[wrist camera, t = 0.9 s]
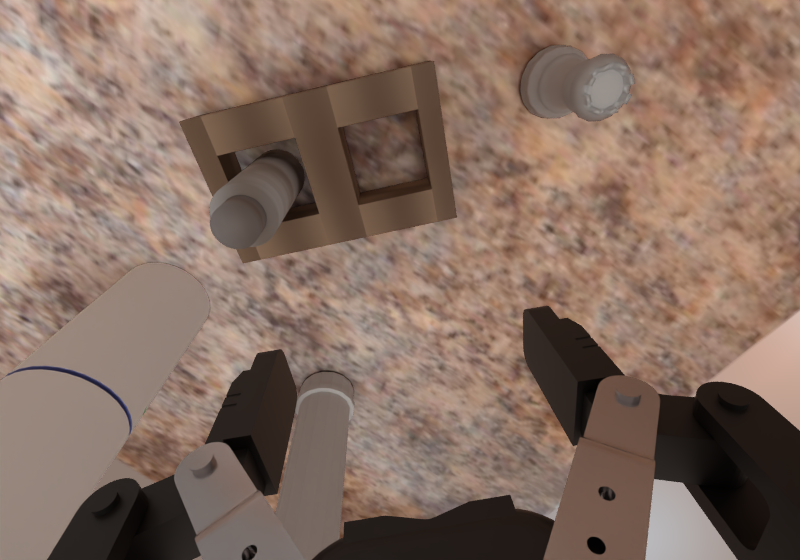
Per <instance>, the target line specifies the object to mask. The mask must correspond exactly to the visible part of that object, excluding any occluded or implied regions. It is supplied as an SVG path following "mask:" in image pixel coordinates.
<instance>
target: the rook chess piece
mask: <svg viewBox="0 0 800 560" xmlns="http://www.w3.org/2000/svg"><path fill="white" fill-rule="evenodd" d="M632 84H635V82H634V74H631V72H630V68H629V66H628V65H627V63H626V62H625V60H624V59H623V58H621V57H619V56H617V55H615V54H600V55H598V56H596V57H594V58H592V59H587V58H586V56H585V55H584V53H583V52H582V51H580V50H578V49H576V48H574V47H572V46H566V45H552V46H550V47H548V48H546V49H543V50H541V51H539V52H538V53H537V54H536V55H535V56H534V57H533V58H532V59H531V60H530V61H529V63H528V64H527V67H526V69H525V71H524V73H523V75H522V79H521V88H520V92H521V96H522V100H523V103H524V105H525V106H526V107H527V109H528V110H529V111H530V112H531V113H532V114H534V115H536V116H539V117H541V118H561V117H563V116H565V115H567V114H570V113H572V112H575V113H576V114H577V116H578V117H580V118H582V119H584V120H586V121H601V120H603V119H606V118H608V117H610V116H612V115H613V114H614V113H617V112H618V109H620V108H621V107H622V105H623V104H627V103H628V101H629V99H630V98H631V96H632V94H629V91H630V87H631V85H632Z"/></svg>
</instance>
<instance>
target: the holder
mask: <svg viewBox="0 0 800 560" xmlns="http://www.w3.org/2000/svg"><path fill="white" fill-rule="evenodd" d="M412 110H415V111H416V117H417V123H418V128H419V134H420V140H421V145H422V151H423V157H424V162H425V168H426V174H427V178H425V179H421V180H416V181H412V182H407V183H403V184H398V185H394V186H389V187H385V188H380V189H376V190H371V191H367V192H362V193H360V190H359V187H358V183H357V179H356V175H355V171H354V168H353V164H352V160H351V156H350V152H349V149H348V145H347V141H346V137H345V134H344V130H343V126H348V125H352V124H356V123H361V122H365V121H369V120H374V119H378V118H382V117H387V116H391V115H395V114H399V113H404V112H408V111H412ZM179 123H180V125H181V127H182V130H183V132H184V134H185V136H186V138H187V141H188V143H189V145H190V147H191V149H192V152H193V154H194V156H195V158H196V161H197V163H198V165H199V167H200V169H201V172H202V174H203V176H204V178H205V181H206V183H207V185H208V187H209V189H210V192H211V194H212V196H213V197H212V199H211V202H210V207H209V213H210V218H211V219H210V227H211V231H212V233H213V235H214V236H215V238H216V239H217V240H218V241H219V242H220V243H222V244H223V245H225V246H227V247H230V248H233V249H237V252H238V254H239V256H240V258H241V260H242V263H247V262H251V261H256V260H261V259H265V258H270V257H275V256H279V255H284V254H289V253H293V252H298V251H303V250H307V249H312V248H317V247H321V246H326V245H331V244H335V243H340V242H345V241H349V240H354V239H359V238H363V237H368V236H373V235H377V234H382V233H387V232H391V231H396V230H401V229H405V228H410V227H415V226H419V225H424V224H429V223H433V222H438V221H442V220H447V219H452V218H456V217H457V215H456V208H455V201H454V194H453V188H452V181H451V174H450V167H449V160H448V154H447V147H446V140H445V133H444V126H443V120H442V113H441V106H440V99H439V93H438V86H437V79H436V72H435V65H434V61H426V62H422V63H418V64H414V65H410V66H405V67H401V68H397V69H393V70H389V71H384V72H380V73H376V74H372V75H368V76H363V77H359V78H355V79H351V80H347V81H342V82H338V83H334V84H330V85H326V86H321V87H317V88H313V89H309V90H305V91H300V92H296V93H292V94H288V95H284V96H280V97H275V98H271V99H267V100H263V101H259V102H254V103H250V104H246V105H242V106H238V107H233V108H229V109H225V110H221V111H217V112H212V113H208V114H204V115H200V116H196V117H193V118H190V119H186V120H183V121H180V122H179ZM292 138H295V140H296V143H297V146H298V149H299V152H300V155H301V158H302V161H303V164H304V167H305V171H306V174H307V177H308V180H309V183H310V186H311V189H312V192H313V195H314V198H315V202H316V203H312V204H308V205H303V206H299V207H294V208H290V207H291V206H292V204H293V202H294V201H295V199H296V197H297V196H298V194H299V192H300V191H301V189H302V187H303V185H304V181H305V174H304V169H303V167H302V165H301V163H300V162H299V160H298V159H297V158H296V157H295V156H293V155H292V154H290V153H289V152H286V151H283V150H270V151H268V152H265V153H264V154H262V155H261V156H260V157H259V158H258V159H256V160H255V161H254V162H253V163H251V164H250V165H249V166H248V167H246V168H245V169H244V170H243V171H241V168H240V166H239V163H238V161H237V158H236V156H235V153H234V152H235V151H240V150H244V149H248V148H253V147H257V146H261V145H266V144H270V143H274V142H279V141H283V140H287V139H292Z"/></svg>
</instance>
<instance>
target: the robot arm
mask: <svg viewBox="0 0 800 560" xmlns="http://www.w3.org/2000/svg"><path fill="white" fill-rule="evenodd" d="M523 349H524V356H525V359H526V362H527V365H528V367H529V369H530V371H531V372H532V374H533V376H534V378H535V379H536V381H537V383H538V385H539V387H540V388H541V390H542V392H543V394H544V395H545V397H546V399H547V401H548V403H549V404H550V406H551V408H552V410H553V411H554V413H555V415H556V417H557V419H558V420H559V422H560V424H561V426H562V427H563V429H564V431H565V433H566V434H567V436H568V438H569V440H570V442H571V443H572V445H573V446H575V445H577V448H576V451H575V454H574V458H573V461H572V465H571V468H570V471H569V475H568V478H567V481H566V485H565V488H564V491H563V495H562V498H561V502H560V505H559V508H558V512H557V515H556V518H555V521H554V520H552V519H550V518H548V517H545V516H543V515H541V514H538V513H535V512H531V511H527V510H522V509H515V507H514V504H513V501H512V499H511V496H510V495H506V496H500V497H494V498H488V499H482V500H476V501H470V502H468V503H465V504H463V505H461V506H459V507H456V508H454V509H452V510H450V511H448V512H445V513H443V514H441V515H439V516H436V517H434V518H432V519H414V518H404V517H394V516H380V517H374V518H368V519H362V520H356V521H350V522H344V537H343V538H341V539H339V540H337V541H335V542H334V543H332V544H330V545H329V546H327V547H326V548H325V549H323V550H322V551H321V552H319V553H318V554H317V555H316V556H315V557H314V558H313V559H312V560H645V556H646V547H647V538H648V528H649V518H650V510H651V500H652V490H653V481H654V479H659V480H666V481H674V482H682V483H684V485H685V486H686V487H687V489H688V490H689V492H690V493H691V494H692V496H693V497H694V499H695V500H696V502H697V503H698V504H699V506H700V507H701V509H702V510H703V511H704V513H705V514H706V516H707V517H708V519H709V520H710V521H711V523H712V524H713V526H714V527H715V528H716V530H717V531H718V533H719V534H720V535H721V537H722V538H723V540H724V541H725V542H726V544H727V545H728V547H729V548H730V549H731V551H732V552H733V554H734V555H735V556H736V558H737V559H738V560H800V431H799V430H798V429H797V428H796V427H795V426H794V425H792V424H791V423H790V422H789V421H788V420H787V419H786V418H785V417H783V416H782V415H781V414H780V413H779V412H778V411H777V410H775V409H774V408H773V407H772V406H771V405H770V404H769V403H767V402H766V401H765V400H764V399H763V398H761V397H760V396H759V395H757V394H756V393H754V392H753V391H751V390H749V389H746V388H744V387H742V386H739V385H736V384H732V383H726V382H709V383H705V384H703V385H701V386H700V387H699V388H698V390H697V392H696V396H695V397H685V396H671V395H662V394H658V393H657V391H656V390H655V389H654V388H653V387H652V386H650V385H649V384H647V383H646V382H644V381H642V380H640V379H637V378H634V377H630V376H625V375H624V374H623V373H622V372H621V370H620V369H619V368H618V367H617V366H616V365H615V364H614V362H613V361H612V360H611V359H610V358H609V357H608V356H607V354H606V353H605V352H604V351H603V350H602V349H601V348H600V346H599V347H598V344H597V343H596V342H595V341H594V340H593V338H591V337H590V335H589V334H588V333H587V332H586V330H585V329H584V328H583V327H582V326H581V325H579V324H577V323H576V322H574V321H572V320H570V319H568V318H564V319H559V318H558V317H557V315H556V314H555V313H554V312H553V310H552V309H551V308H550V307H549V306H543V307H537V308H531V309H525V310H524V312H523ZM226 396H227V398H225V400H224V402H223V404H222V408H221V409H220V411H219V413H218V416H217V418H216V420H215V422H214V425H213V427H212V429H211V431H210V434H209V436H208V438H207V441H206V443H205V445H203V446H201V447H199V448H197V449H195V450H194V451H192V452H191V453H190V454H188V455H187V456H186V457H185V458H184V459H183V460H182V462H181V463H180V464H179V466H178V467H177V469H176V472H175V474H174V475H172V476H170V477H168V478H166V479H163V480H161V481H159V482H156V483H154V484H152V485H149V486H147V487H144V488H141V487H140V486H139V484H138V483H137V482H136V481H135V480H133V479H130V478H124V479H119V480H116V481H113V482H110V483H108V484H107V485H105V486H103V487H101V488H100V489H98V490H97V491H95V492H94V493H93V494H92V495H91V496H89V497H88V498H87V499H86V500H85V501H84V502H83V504H82V505H81V506H80V507H79V509H78V510H77V512H76V513H75V515H74V517H73V518H72V520H71V521H70V523H69V525H68V526H67V528H66V530H65V531H64V533H63V534H62V536H61V538H60V539H59V541H58V543H57V544H56V546H55V547H54V549H53V551H52V552H51V554H50V556H49V557H48V559H47V560H192V559H194V558H197V557H199V556H202V559H203V560H305V559H304V557H303V556H302V554H301V553H300V551H299V550H298V548H297V547H296V545H295V543H294V542H293V540H292V539H291V537H290V536H289V534H288V533H287V531H286V530H285V528H284V526H283V525H282V523H281V522H280V520H279V519H278V517H277V516H276V514H275V513H274V511H273V509H272V508H271V506H270V505H269V503H268V502H267V500H266V499H265V497H264V496H267V495H273V494H277V493H278V488H279V483H280V479H281V474H282V469H283V465H284V460H285V455H286V451H287V446H288V441H289V437H290V432H291V427H292V423H293V418H294V414H295V409H296V404H297V392H296V386H295V383H294V380H293V377H292V374H291V371H290V369H289V366H288V363H287V360H286V357H285V354H284V352H283V351H282V350H281V349H280V350H274V351H268V352H262V353H258V354H257V355H256V357H255V359H254V362H253V364H252V367H251V369H250V370H247V371H243V372H242V373H241V374H240V375H239V376H238V377H237V378H236V379H235V380H234V381H233V382H232V384H231V386H230V389H229V391H228V393H227V395H226Z"/></svg>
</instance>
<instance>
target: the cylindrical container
mask: <svg viewBox="0 0 800 560" xmlns="http://www.w3.org/2000/svg"><path fill="white" fill-rule="evenodd" d="M209 311H210V302H209V298H208V295H207V293H206V291H205V289H204V287H203V286H202V285H201V284H200V282H199V281H198V280H197V279H195V278H194V277H193V276H192V275H191V274H189V273H188V272H186V271H185V270H183V269H180V268H178V267H176V266H173V265H170V264H165V263H146V264H141V265H139V266H137V267H134V268H133V269H132V270H130V271H129V272H128V273H127V274H125V275H124V276H123V277H122V278H121V279H119V280H118V281H117V282H116V283H115V284H114V285H112V286H111V287H110V288H109V289H108V290H106V291H105V292H104V293H103V294H102V295H100V296H99V297H98V298H97V299H96V300H94V301H93V302H92V303H91V304H90V305H89V306H87V307H86V308H85V309H84V310H83V311H81V312H80V313H79V314H78V315H77V316H75V317H74V318H73V319H72V320H71V321H70V322H68V323H67V324H66V325H65V326H64V327H63V328H61V329H60V330H59V331H58V332H57V333H55V334H54V335H53V336H52V337H51V338H50V339H48V340H47V341H46V342H45V343H44V344H43V345H41V346H40V347H39V348H38V349H37V350H35V351H34V352H33V353H32V354H31V355H30V356H28V357H27V358H26V359H25V360H24V361H22V362H21V363H20V364H19V365H18V366H17V367H15V368H14V369H13V370H12V371H11V372H10V373H8V374H7V375H6V376H5V377H4V378H2V379H1V380H0V560H47V559H48V557H49V556H50V554H51V552H52V551H53V549H54V547H55V546H56V544H57V543H58V541H59V539H60V538H61V536H62V534H63V533H64V531H65V530H66V528H67V526H68V525H69V523H70V521H71V520H72V518H73V517H74V515H75V513H76V512H77V510H78V509H79V507H80V506H81V505H82V504H83V502H84V501H85V500H86V499H87V498H88V497H89V496H90V495H91V493H92V492H93V490H94V489H95V487H96V486H97V484H98V483H99V481H100V480H101V478H102V476H103V475H104V474H105V472H106V471H107V469H108V468H109V466H110V464H111V463H112V461H113V460H114V458H115V457H116V455H117V454H118V452H119V451H120V449H121V448H122V446H123V445H124V443H125V442H126V440H127V439H128V437H129V436H130V434H131V433H132V431H133V430H134V428H135V427H136V425H137V424H138V422H139V421H140V419H141V418H142V416H143V414H144V413H145V412H146V410H147V409H148V407H149V406H150V404H151V403H152V401H153V400H154V398H155V397H156V395H157V394H158V392H159V391H160V389H161V387H162V386H163V384H164V383H165V381H166V380H167V378H168V377H169V375H170V374H171V372H172V371H173V369H174V368H175V366H176V365H177V363H178V362H179V360H180V359H181V357H182V356H183V354H184V353H185V351H186V350H187V348H188V347H189V345H190V344H191V342H192V341H193V339H194V338H195V336H196V335H197V333H198V332H199V330H200V329H201V327H202V326H203V324H204V323H205V321H206V320H207V317H208V315H209Z"/></svg>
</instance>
